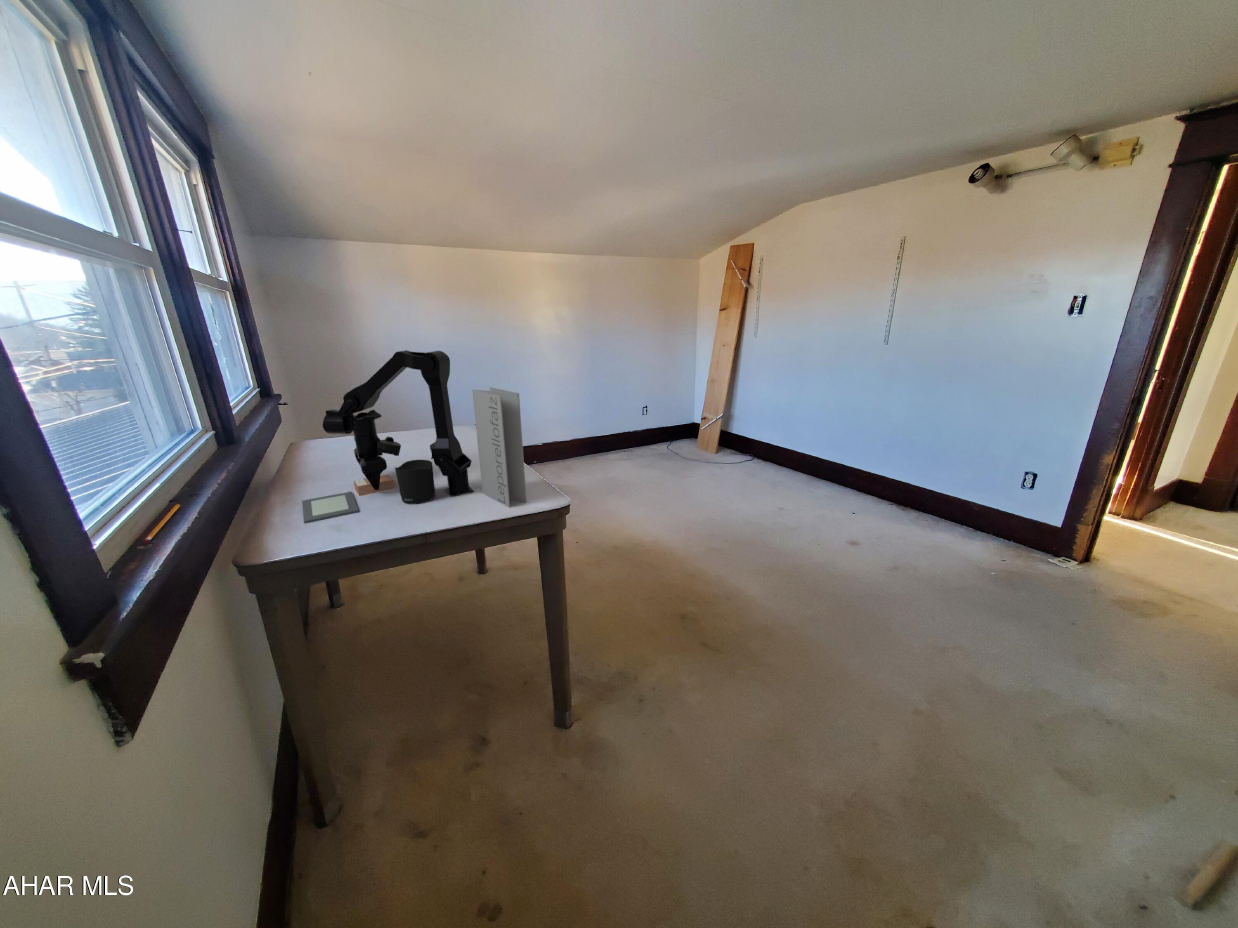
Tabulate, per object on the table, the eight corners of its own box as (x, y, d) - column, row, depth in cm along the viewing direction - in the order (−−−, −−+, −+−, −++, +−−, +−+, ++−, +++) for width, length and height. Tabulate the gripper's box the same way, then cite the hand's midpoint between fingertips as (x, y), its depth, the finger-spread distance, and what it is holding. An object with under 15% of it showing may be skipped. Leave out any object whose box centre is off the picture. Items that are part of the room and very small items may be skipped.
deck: (390, 483, 141) (388, 473, 140) (395, 489, 136) (393, 479, 135) (355, 491, 135) (353, 480, 134) (359, 497, 131) (357, 486, 130)
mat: (358, 512, 120) (358, 509, 120) (304, 523, 114) (303, 520, 113) (352, 493, 133) (351, 491, 132) (302, 502, 126) (302, 500, 126)
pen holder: (396, 497, 129) (390, 464, 126) (430, 489, 135) (425, 457, 132) (406, 508, 123) (400, 472, 119) (441, 499, 128) (437, 465, 125)
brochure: (482, 493, 132) (472, 389, 123) (499, 488, 136) (490, 387, 127) (509, 507, 123) (499, 396, 113) (526, 501, 126) (519, 393, 117)
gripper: (402, 436, 128) (410, 489, 132) (390, 424, 142) (398, 471, 147) (357, 443, 122) (367, 497, 126) (349, 429, 136) (359, 478, 141)
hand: (374, 485), depth 135 cm, fingers open, 9 cm apart
